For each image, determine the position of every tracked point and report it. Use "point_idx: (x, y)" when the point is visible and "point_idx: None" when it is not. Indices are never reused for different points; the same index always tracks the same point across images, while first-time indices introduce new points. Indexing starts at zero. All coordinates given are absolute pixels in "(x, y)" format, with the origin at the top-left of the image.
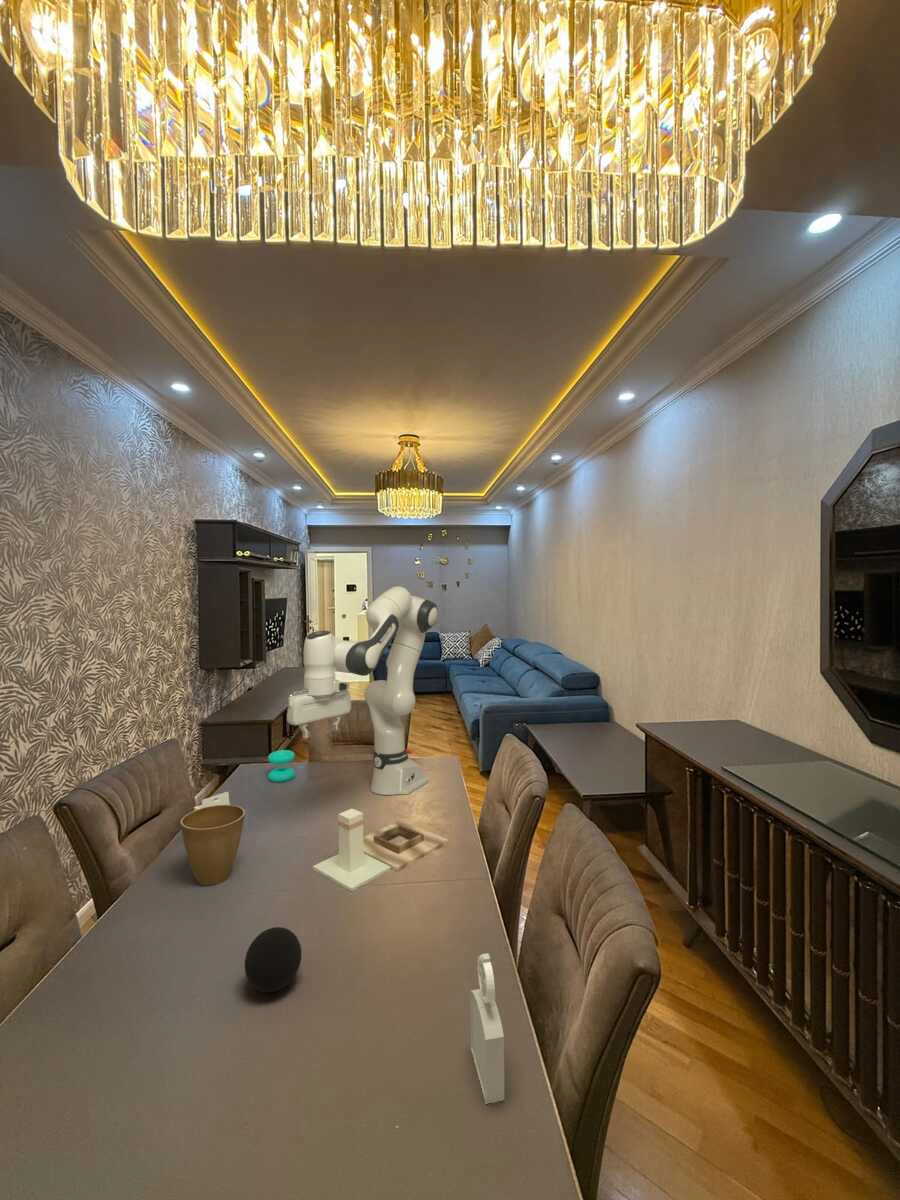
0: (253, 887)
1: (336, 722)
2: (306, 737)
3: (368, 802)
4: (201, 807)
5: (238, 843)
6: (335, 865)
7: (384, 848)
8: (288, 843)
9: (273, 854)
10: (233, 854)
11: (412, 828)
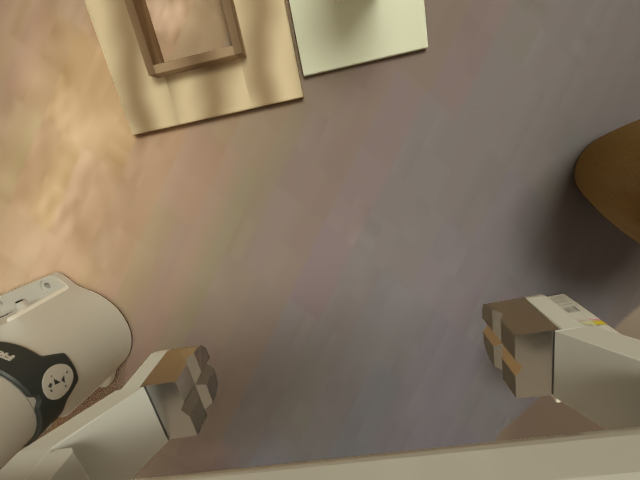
0: (570, 60)
1: (112, 416)
2: (540, 296)
3: (162, 292)
4: None
5: (635, 133)
6: (381, 8)
7: (236, 2)
8: (408, 215)
9: (459, 186)
10: (635, 124)
11: (121, 63)
